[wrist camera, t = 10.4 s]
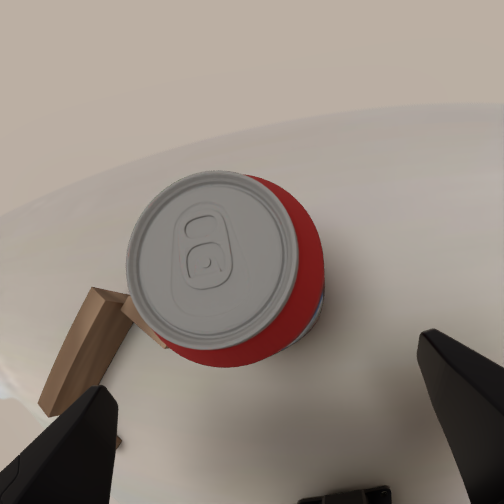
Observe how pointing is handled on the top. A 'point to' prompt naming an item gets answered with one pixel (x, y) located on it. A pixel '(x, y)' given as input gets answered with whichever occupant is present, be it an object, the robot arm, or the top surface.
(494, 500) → the robot arm
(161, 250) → the beverage can
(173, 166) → the top surface
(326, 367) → the top surface
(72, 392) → the can cradle
